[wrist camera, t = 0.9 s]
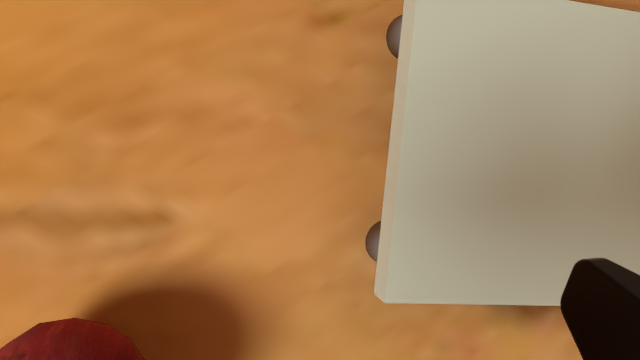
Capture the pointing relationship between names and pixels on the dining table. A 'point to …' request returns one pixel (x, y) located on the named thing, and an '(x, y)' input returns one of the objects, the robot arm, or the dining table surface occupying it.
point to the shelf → (508, 150)
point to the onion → (71, 342)
